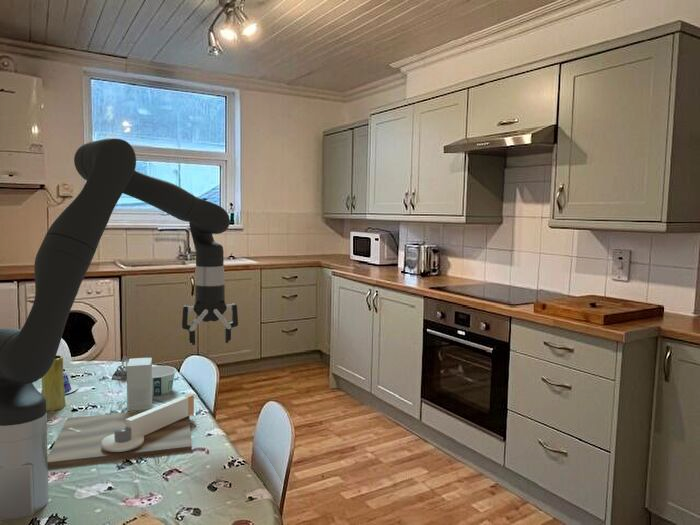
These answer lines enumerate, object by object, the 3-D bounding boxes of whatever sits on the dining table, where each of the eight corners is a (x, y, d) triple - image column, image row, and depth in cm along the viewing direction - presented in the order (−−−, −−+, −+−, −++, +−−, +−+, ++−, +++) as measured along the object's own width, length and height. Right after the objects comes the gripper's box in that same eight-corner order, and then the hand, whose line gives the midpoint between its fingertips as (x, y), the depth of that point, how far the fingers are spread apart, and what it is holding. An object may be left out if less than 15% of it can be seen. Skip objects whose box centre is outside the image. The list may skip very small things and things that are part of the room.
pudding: (60, 399, 155) (60, 382, 155) (24, 396, 157) (23, 379, 157) (86, 387, 167) (86, 371, 167) (52, 384, 169) (52, 368, 168)
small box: (129, 402, 154) (129, 358, 153) (152, 400, 156) (152, 357, 155) (126, 411, 146) (126, 365, 145) (151, 410, 148) (150, 364, 147)
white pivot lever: (120, 455, 116) (120, 432, 116) (92, 446, 120) (92, 424, 119) (204, 416, 140) (204, 397, 139) (178, 410, 144) (178, 391, 143)
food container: (135, 387, 167) (135, 367, 167) (175, 384, 171) (175, 364, 171) (134, 400, 156) (134, 378, 155) (177, 396, 160) (177, 374, 160)
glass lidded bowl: (149, 373, 183) (149, 352, 182) (136, 381, 174) (136, 358, 174) (124, 372, 184) (124, 350, 183) (110, 380, 175) (110, 357, 174)
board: (191, 452, 122) (191, 445, 122) (44, 469, 113) (44, 462, 112) (188, 412, 147) (188, 407, 147) (67, 423, 137) (67, 417, 137)
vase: (54, 412, 145) (53, 361, 144) (35, 410, 146) (34, 359, 145) (70, 404, 151) (69, 355, 150) (52, 402, 152) (50, 354, 151)
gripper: (182, 285, 133) (182, 348, 134) (239, 284, 137) (239, 345, 139) (181, 281, 140) (181, 341, 141) (235, 280, 144) (235, 338, 146)
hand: (210, 343), depth 140 cm, fingers open, 8 cm apart
